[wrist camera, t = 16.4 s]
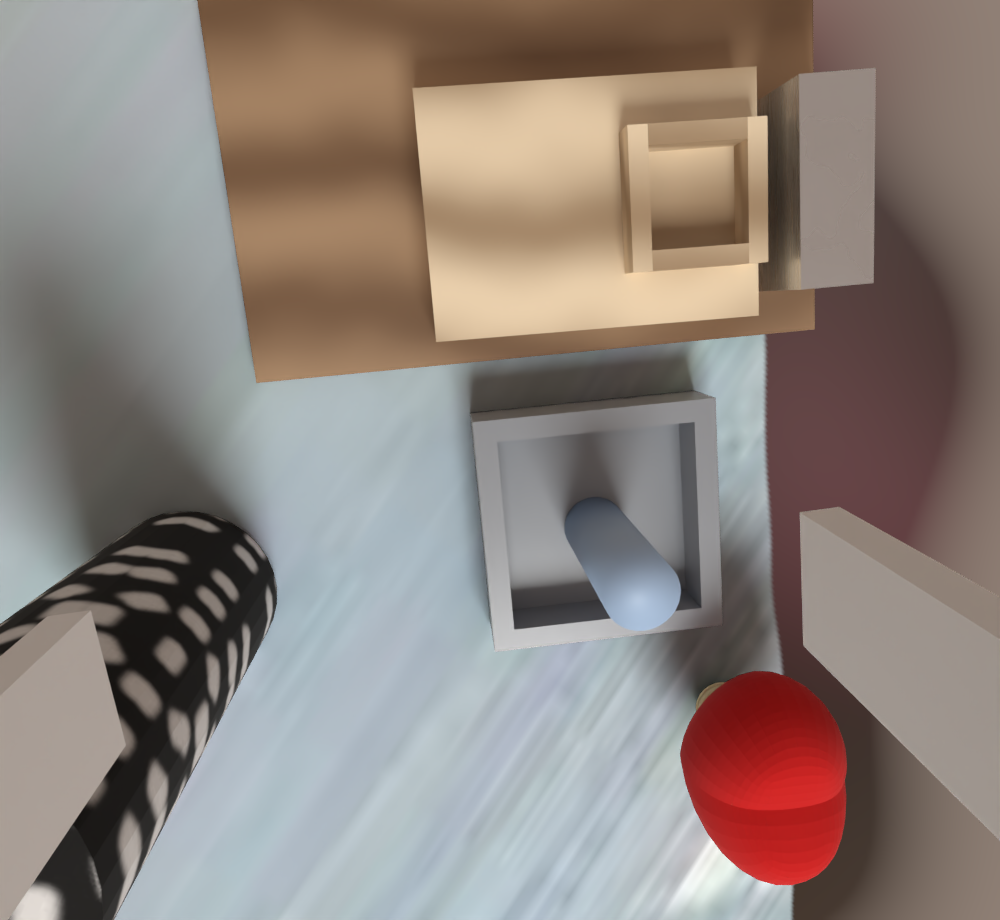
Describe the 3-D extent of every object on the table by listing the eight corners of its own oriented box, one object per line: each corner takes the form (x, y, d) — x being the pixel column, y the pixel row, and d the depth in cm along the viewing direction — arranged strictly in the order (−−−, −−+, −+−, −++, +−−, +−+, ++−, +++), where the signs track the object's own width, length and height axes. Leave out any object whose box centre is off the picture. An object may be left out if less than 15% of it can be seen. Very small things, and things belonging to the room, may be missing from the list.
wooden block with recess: (414, 104, 33) (411, 77, 29) (734, 83, 34) (772, 54, 30) (436, 339, 35) (435, 343, 31) (736, 314, 36) (773, 316, 32)
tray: (470, 413, 37) (472, 422, 34) (693, 390, 38) (715, 397, 35) (491, 625, 39) (494, 651, 36) (701, 601, 40) (722, 625, 37)
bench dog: (747, 107, 34) (798, 74, 29) (813, 101, 34) (875, 68, 29) (751, 291, 36) (801, 289, 31) (814, 285, 36) (873, 282, 31)
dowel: (563, 555, 38) (600, 631, 29) (565, 496, 37) (605, 556, 29) (622, 555, 38) (677, 630, 29) (626, 497, 38) (683, 556, 29)
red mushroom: (646, 622, 40) (713, 726, 30) (778, 608, 40) (886, 706, 30) (653, 782, 42) (718, 929, 32) (779, 767, 42) (881, 907, 32)
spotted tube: (201, 477, 37) (-76, 674, 17) (311, 607, 38) (176, 923, 19) (66, 578, 37) (-354, 883, 18) (181, 702, 39) (-85, 1107, 19)
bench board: (205, 5, 33) (196, -6, 31) (799, -36, 34) (812, -49, 33) (262, 380, 36) (256, 382, 35) (802, 328, 37) (814, 329, 36)
